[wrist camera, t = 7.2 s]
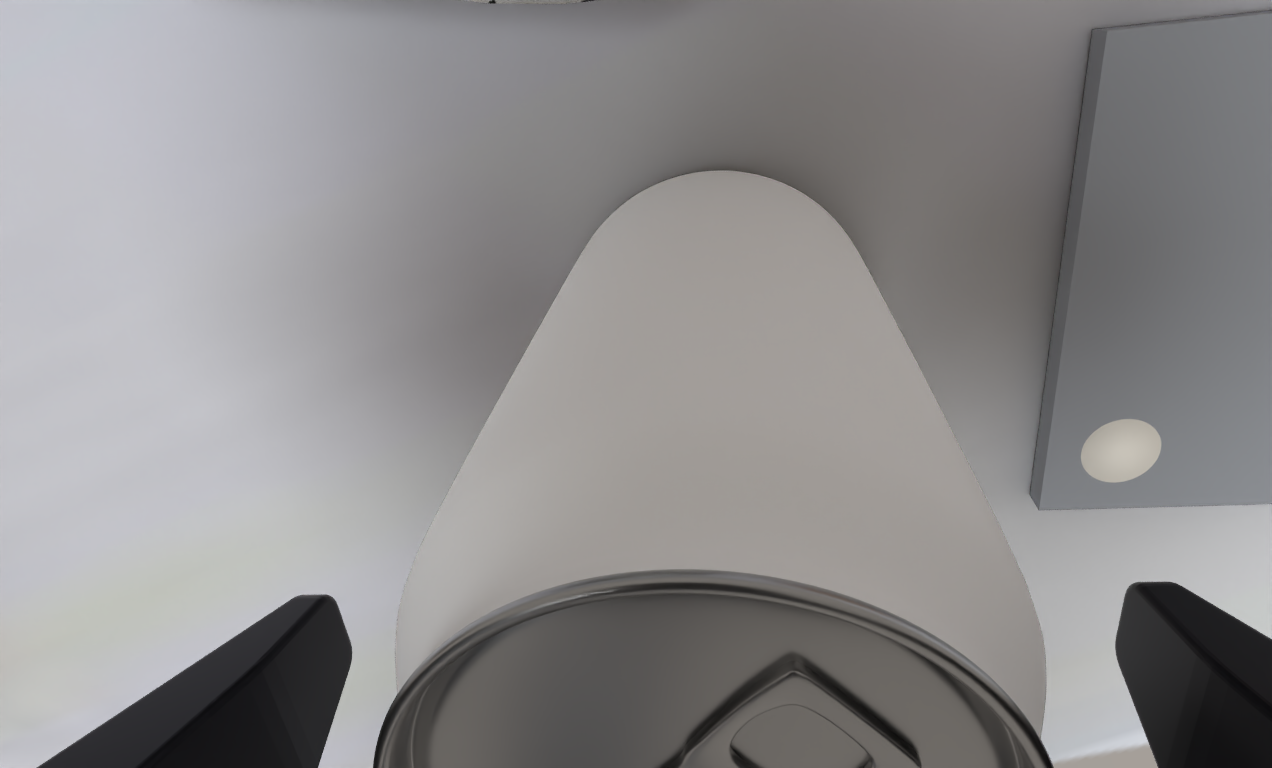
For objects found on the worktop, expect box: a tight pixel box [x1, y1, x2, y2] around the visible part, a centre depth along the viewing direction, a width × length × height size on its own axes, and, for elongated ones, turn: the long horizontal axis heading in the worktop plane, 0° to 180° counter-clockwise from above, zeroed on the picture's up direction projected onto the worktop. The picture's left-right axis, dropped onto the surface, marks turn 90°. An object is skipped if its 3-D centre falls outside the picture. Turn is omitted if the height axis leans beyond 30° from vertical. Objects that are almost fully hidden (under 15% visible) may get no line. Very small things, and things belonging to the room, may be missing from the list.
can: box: [373, 171, 1054, 768], centre depth 12 cm, size 6×6×12 cm
